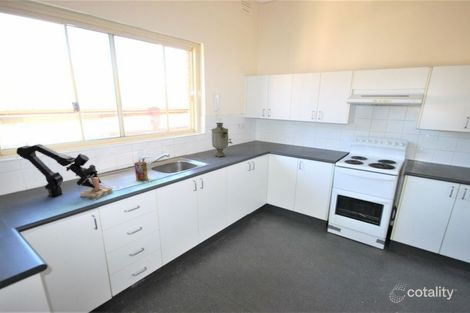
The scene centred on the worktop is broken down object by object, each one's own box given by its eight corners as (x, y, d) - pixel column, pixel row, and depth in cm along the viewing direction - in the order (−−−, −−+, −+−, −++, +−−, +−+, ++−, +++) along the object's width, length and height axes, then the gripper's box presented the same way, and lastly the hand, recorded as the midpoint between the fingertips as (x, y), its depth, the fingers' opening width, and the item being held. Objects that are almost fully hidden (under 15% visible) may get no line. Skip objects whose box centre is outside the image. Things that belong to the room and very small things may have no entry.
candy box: (147, 178, 198) (146, 161, 195) (147, 179, 194) (145, 162, 191) (136, 178, 196) (135, 161, 193) (135, 180, 192) (134, 162, 188)
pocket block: (95, 199, 155) (94, 195, 154) (80, 196, 160) (80, 192, 159) (112, 192, 168) (112, 188, 167) (98, 189, 173) (98, 185, 172)
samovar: (235, 159, 267) (236, 124, 257) (213, 159, 262) (212, 124, 252) (230, 153, 295) (231, 121, 286) (210, 153, 290) (209, 121, 280)
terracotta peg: (96, 195, 162) (94, 179, 159) (92, 194, 163) (90, 178, 160) (101, 193, 165) (99, 177, 162) (97, 192, 167) (95, 176, 164)
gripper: (79, 166, 149) (99, 182, 153) (93, 158, 167) (110, 173, 171) (67, 178, 150) (88, 193, 154) (83, 169, 168) (101, 183, 172)
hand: (97, 185), depth 163 cm, fingers open, 9 cm apart
